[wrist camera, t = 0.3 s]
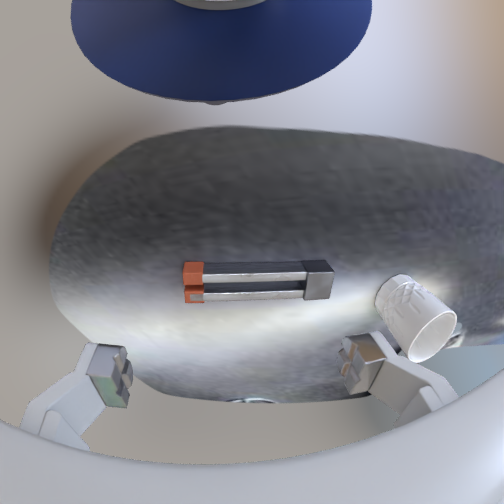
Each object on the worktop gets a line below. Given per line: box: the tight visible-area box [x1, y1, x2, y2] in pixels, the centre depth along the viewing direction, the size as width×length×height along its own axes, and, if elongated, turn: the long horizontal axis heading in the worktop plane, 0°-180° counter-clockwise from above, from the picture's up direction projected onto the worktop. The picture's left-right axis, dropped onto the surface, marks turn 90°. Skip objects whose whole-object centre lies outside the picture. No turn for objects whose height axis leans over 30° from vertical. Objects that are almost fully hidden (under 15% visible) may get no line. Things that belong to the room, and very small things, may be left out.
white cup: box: [375, 274, 457, 363], centre depth 30 cm, size 8×8×10 cm
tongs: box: [183, 261, 335, 303], centre depth 28 cm, size 16×4×3 cm, turn 87°
